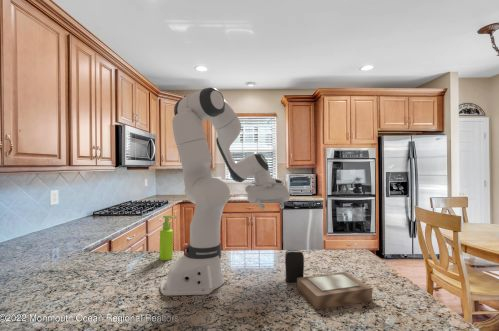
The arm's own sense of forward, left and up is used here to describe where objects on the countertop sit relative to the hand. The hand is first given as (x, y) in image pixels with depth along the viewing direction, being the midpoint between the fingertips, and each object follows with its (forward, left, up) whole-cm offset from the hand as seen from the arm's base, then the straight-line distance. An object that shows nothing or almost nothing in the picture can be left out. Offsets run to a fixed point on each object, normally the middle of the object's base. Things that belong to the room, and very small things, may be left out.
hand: (272, 208), depth 108 cm
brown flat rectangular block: (+10, -30, -25) cm, 40 cm away
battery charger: (+2, -17, -25) cm, 31 cm away
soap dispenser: (-46, +20, -25) cm, 56 cm away
